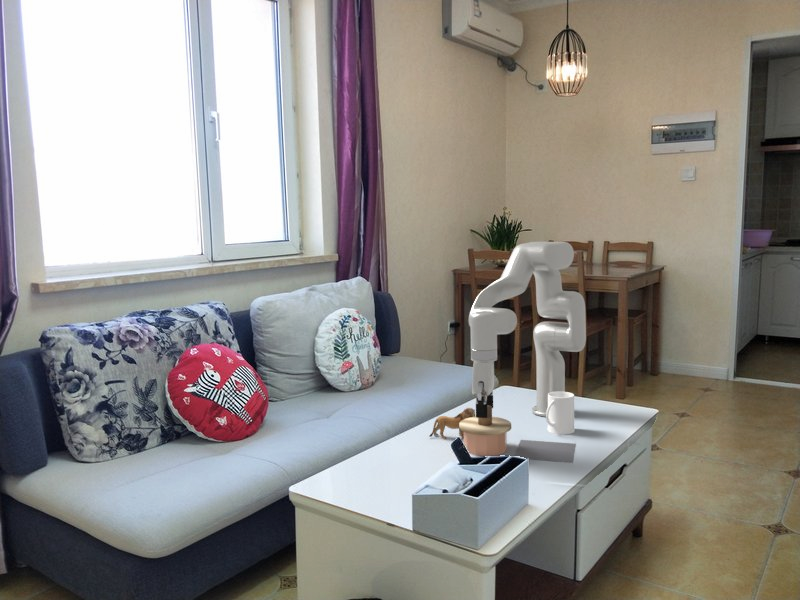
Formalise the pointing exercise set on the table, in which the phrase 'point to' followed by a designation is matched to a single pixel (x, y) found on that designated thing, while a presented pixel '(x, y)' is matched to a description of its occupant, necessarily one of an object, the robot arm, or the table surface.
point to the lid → (485, 424)
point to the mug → (560, 412)
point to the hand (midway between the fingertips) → (484, 412)
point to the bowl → (485, 444)
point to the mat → (546, 451)
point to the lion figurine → (452, 422)
